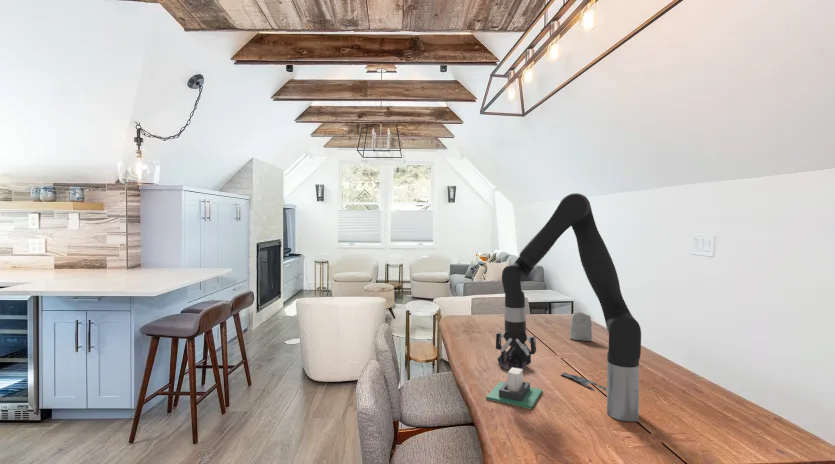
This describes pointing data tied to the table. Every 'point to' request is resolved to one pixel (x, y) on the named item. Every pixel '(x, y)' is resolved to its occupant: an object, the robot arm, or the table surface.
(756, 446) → the table surface
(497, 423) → the table surface
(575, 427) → the table surface
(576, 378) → the driftwood
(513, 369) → the plug
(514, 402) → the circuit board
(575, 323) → the decorative stone
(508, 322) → the robot arm
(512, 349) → the crystal cluster
